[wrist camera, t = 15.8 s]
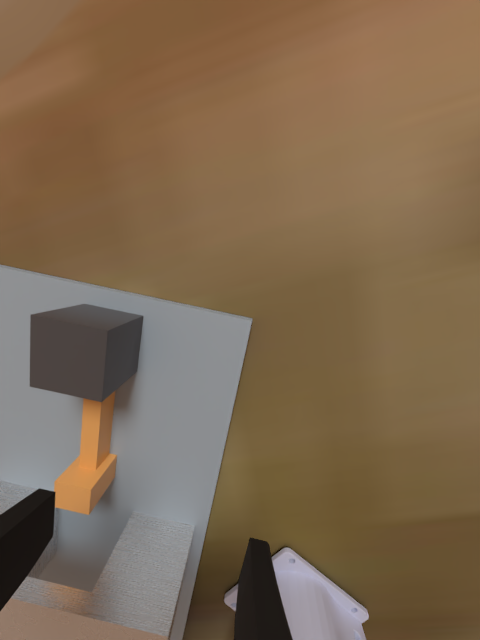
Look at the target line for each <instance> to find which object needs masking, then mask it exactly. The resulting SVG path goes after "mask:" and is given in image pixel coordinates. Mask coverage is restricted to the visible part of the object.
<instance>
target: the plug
mask: <svg viewBox="0 0 480 640" xmlns="http://www.w3.org/2000/svg"><path fill="white" fill-rule="evenodd" d="M142 325H143V316H142V315H137V314H132V313H128V312H123V311H118V310H113V309H108V308H103V307H98V306H94V305H89V304H80V305H75V306H71V307H66V308H61V309H56V310H51V311H46V312H41V313H36V314H31V316H30V387H34V388H38V389H43V390H48V391H52V392H57V393H61V394H66V395H71V396H75V397H80V398H83V413H82V429H81V444H80V455H79V456H78V457H77V458H76V459H75V461H74V462H73V463H72V464H71V465H70V466H69V467H68V468H67V469H66V470H65V471H64V472H63V473H62V474H61V475H60V476H59V477H58V478H57V479H56V481H55V482H54V492H56V494H55V507H56V508H60V509H65V510H69V511H73V512H78V513H82V514H87V515H89V514H90V513H91V511H92V510H93V508H94V507H95V506H96V504H97V503H98V501H99V500H100V498H101V497H102V495H103V494H104V492H105V491H106V489H107V488H108V486H109V485H110V484H111V482H112V481H113V479H114V478H115V471H116V461H117V455H115V454H110V453H109V452H110V442H111V431H112V421H113V410H114V400H115V390H117V389H118V388H119V387H120V386H121V385H122V384H123V383H125V382H126V381H127V380H128V379H129V378H130V377H132V376H133V375H134V374H135V373H136V372H137V369H138V360H139V351H140V343H141V334H142Z"/></svg>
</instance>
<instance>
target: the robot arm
mask: <svg viewBox="0 0 480 640" xmlns="http://www.w3.org/2000/svg"><path fill="white" fill-rule="evenodd" d="M55 494H56V492H53V491H49V490H45V489H41V488H39V489H38V490H36V491H34V492H33V493H31V494H30V495H28V496H27V497H25V498H24V499H22V500H21V501H20V502H18V503H17V504H15V505H14V506H12V507H11V508H9V509H8V510H6V511H5V512H3V513H2V514H0V611H1V610H2V609H3V607H4V606H5V605H6V603H7V602H8V601H9V599H10V598H11V597H12V596H13V594H14V593H15V592H16V590H17V589H18V588H19V586H20V585H21V584H22V582H23V581H24V580H25V578H26V577H27V576H28V574H29V573H30V571H31V570H32V568H33V567H34V565H35V564H36V562H37V561H38V559H39V558H40V556H41V555H42V553H43V551H44V550H45V548H46V547H47V545H48V543H49V542H50V540H51V539H52V537H53V532H54V513H55ZM224 602H225V604H226V605H228V606H229V607H230V608H232V609H233V610H234V611H236V614H235V632H234V640H366V638H365V634H364V631H363V628H362V624H361V623H363V622H365V621H366V620H367V619H368V618H369V615H368V612H367V610H366V608H364V607H363V606H362V605H361V604H359V603H358V602H357V601H356V600H354V599H353V598H352V597H351V596H349V595H348V594H347V593H346V592H344V591H343V590H342V589H341V588H339V587H338V586H337V585H336V584H334V583H333V582H332V581H331V580H329V579H328V578H327V577H326V576H324V575H323V574H322V573H320V572H319V571H318V570H317V569H315V568H314V567H313V566H312V565H310V564H309V563H308V562H307V561H305V560H304V559H303V558H302V557H300V556H299V555H298V554H297V553H295V552H294V551H293V550H292V549H290V548H287V547H286V548H283V549H282V550H280V551H279V552H278V553H276V554H275V555H274V556H273V557H271V553H270V547H269V544H268V543H267V542H266V541H262V540H258V539H254V538H250V540H249V543H248V547H247V551H246V555H245V558H244V562H243V566H242V569H241V573H240V577H239V581H238V584H237V585H236V586H234V587H233V588H232V589H231V590H229V591H228V592H227V593H226V594H225V596H224Z"/></svg>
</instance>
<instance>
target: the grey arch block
mask: <svg viewBox="0 0 480 640" xmlns="http://www.w3.org/2000/svg"><path fill="white" fill-rule="evenodd" d="M36 490H38V489H35V488H31V487H27V486H23V485H18V484H14V483H10V482H6V481H1V480H0V514H2V513H3V512H5V511H6V510H8V509H9V508H11V507H12V506H14V505H15V504H17V503H18V502H20V501H21V500H22V499H24V498H25V497H27V496H28V495H30V494H31V493H33V492H34V491H36ZM58 519H59V508H56V507H55V513H54V532H53V537H52V539H51V540H50V542H49V543H48V545H47V547H46V548H45V550H44V551H43V553H42V555H41V556H40V558H39V559H38V561H37V562H36V564H35V565H34V567H33V568H32V570H31V571H30V573H29V574H28V576H27V577H26V578H25V580H24V581H23V582H22V584H21V585H20V586H19V588H18V589H17V590H16V592H15V593H14V594H13V596H12V597H11V598H10V599H9V601H8V602H7V603H6V605H5V606H4V607H3V609H2V610H1V611H0V640H170V636H171V632H172V628H173V624H174V619H175V615H176V611H177V607H178V602H179V598H180V594H181V590H182V585H183V581H184V576H185V571H186V566H187V562H188V557H189V552H190V547H191V542H192V537H193V532H194V528H195V526H193V525H189V524H184V523H180V522H176V521H172V520H167V519H163V518H159V517H155V516H150V515H146V514H142V513H138V512H133V513H132V515H131V516H130V518H129V520H128V522H127V524H126V526H125V528H124V530H123V532H122V534H121V536H120V538H119V540H118V542H117V544H116V546H115V548H114V550H113V552H112V554H111V556H110V558H109V560H108V562H107V564H106V565H105V567H104V569H103V571H102V573H101V575H100V577H99V579H98V581H97V583H96V585H95V587H94V589H93V591H92V592H89V591H85V590H81V589H77V588H72V587H68V586H64V585H60V584H56V583H52V582H48V581H44V580H40V579H38V577H39V576H40V575H41V573H42V572H43V570H44V569H45V567H46V566H47V565H48V563H49V562H50V560H51V559H52V558H53V556H54V555H55V553H56V552H57V537H58Z"/></svg>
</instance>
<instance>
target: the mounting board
mask: <svg viewBox="0 0 480 640" xmlns="http://www.w3.org/2000/svg"><path fill="white" fill-rule="evenodd" d="M80 304H89V305H94V306H98V307H103V308H108V309H113V310H118V311H123V312H128V313H132V314H137V315H142V316H143V325H142V334H141V343H140V351H139V360H138V369H137V372H136V373H135V374H134V375H133V376H132V377H130V378H129V379H128V380H127V381H126V382H125V383H123V384H122V385H121V386H120V387H119V388H118V389H117V390H115V400H114V410H113V421H112V431H111V442H110V452H109V453H110V454H115V455H117V461H116V471H115V478H114V479H113V481H112V482H111V484H110V485H109V486H108V488H107V489H106V491H105V492H104V494H103V495H102V497H101V498H100V500H99V501H98V503H97V504H96V506H95V507H94V508H93V510H92V511H91V513H90V514H89V515H87V514H82V513H78V512H73V511H69V510H65V509H60V508H59V519H58V537H57V552H56V553H55V555H54V556H53V558H52V559H51V560H50V562H49V563H48V565H47V566H46V567H45V569H44V570H43V572H42V573H41V575H40V576H39V577H38V579H40V580H44V581H48V582H52V583H56V584H60V585H64V586H68V587H72V588H77V589H81V590H85V591H89V592H92V591H93V589H94V587H95V585H96V583H97V581H98V579H99V577H100V575H101V573H102V571H103V569H104V567H105V565H106V564H107V562H108V560H109V558H110V556H111V554H112V552H113V550H114V548H115V546H116V544H117V542H118V540H119V538H120V536H121V534H122V532H123V530H124V528H125V526H126V524H127V522H128V520H129V518H130V516H131V515H132V513H133V512H138V513H142V514H146V515H150V516H155V517H159V518H163V519H167V520H172V521H176V522H180V523H184V524H189V525H193V526H195V528H194V532H193V537H192V542H191V547H190V552H189V557H188V562H187V566H186V571H185V576H184V581H183V585H182V590H181V594H180V598H179V602H178V607H177V611H176V615H175V619H174V624H173V628H172V632H171V636H170V640H182V638H183V634H184V629H185V625H186V620H187V615H188V611H189V606H190V602H191V597H192V593H193V588H194V584H195V579H196V574H197V570H198V565H199V561H200V556H201V552H202V547H203V543H204V538H205V533H206V529H207V524H208V520H209V515H210V511H211V506H212V502H213V497H214V492H215V488H216V483H217V479H218V474H219V470H220V465H221V461H222V456H223V451H224V447H225V442H226V438H227V433H228V429H229V424H230V420H231V415H232V410H233V406H234V401H235V397H236V392H237V388H238V383H239V379H240V374H241V369H242V365H243V360H244V356H245V351H246V347H247V342H248V338H249V333H250V328H251V324H252V318H248V317H243V316H238V315H233V314H229V313H224V312H219V311H215V310H210V309H205V308H201V307H196V306H191V305H187V304H182V303H177V302H173V301H168V300H163V299H159V298H154V297H149V296H144V295H140V294H135V293H130V292H126V291H121V290H116V289H112V288H107V287H102V286H98V285H93V284H88V283H84V282H79V281H74V280H70V279H65V278H60V277H55V276H51V275H46V274H41V273H37V272H32V271H27V270H23V269H18V268H13V267H9V266H4V265H0V480H1V481H6V482H10V483H14V484H18V485H23V486H27V487H31V488H35V489H39V488H41V489H45V490H49V491H53V492H54V482H55V481H56V479H57V478H58V477H59V476H60V475H61V474H62V473H63V472H64V471H65V470H66V469H67V468H68V467H69V466H70V465H71V464H72V463H73V462H74V461H75V459H76V458H77V457H78V456H79V455H80V444H81V429H82V413H83V398H80V397H75V396H71V395H66V394H61V393H57V392H52V391H48V390H43V389H38V388H34V387H30V316H31V314H36V313H41V312H46V311H51V310H56V309H61V308H66V307H71V306H75V305H80Z"/></svg>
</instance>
